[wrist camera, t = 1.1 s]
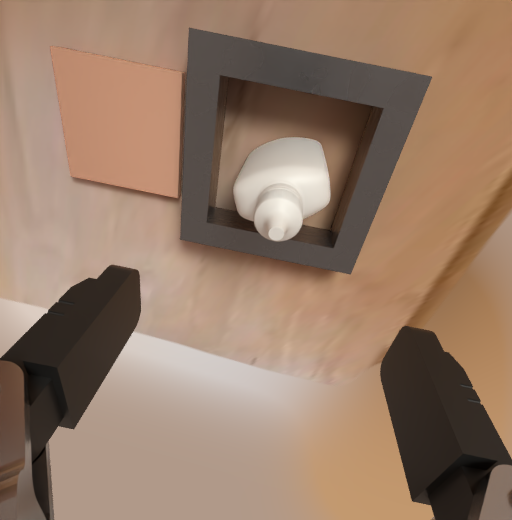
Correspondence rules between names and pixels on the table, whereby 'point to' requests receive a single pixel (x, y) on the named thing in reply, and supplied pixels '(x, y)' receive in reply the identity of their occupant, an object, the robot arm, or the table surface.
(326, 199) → the eye dropper bottle
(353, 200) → the socket plate
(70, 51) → the terracotta tile
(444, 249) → the table surface
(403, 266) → the table surface
